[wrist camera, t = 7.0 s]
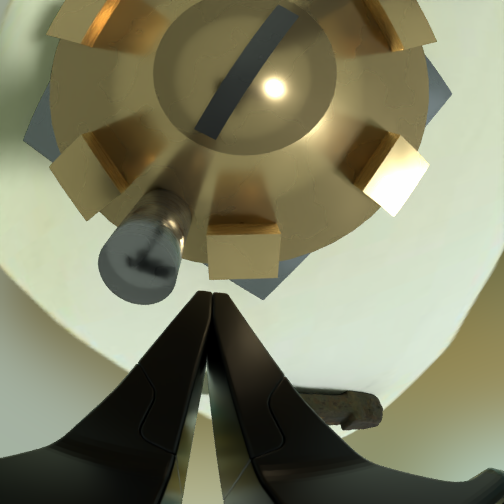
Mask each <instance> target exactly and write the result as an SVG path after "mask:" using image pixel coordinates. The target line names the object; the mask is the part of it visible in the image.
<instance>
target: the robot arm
mask: <svg viewBox="0 0 504 504" xmlns="http://www.w3.org/2000/svg"><path fill="white" fill-rule="evenodd" d="M206 363H207V376H208V387H209V397H210V406H211V416H212V424H213V432H214V440H215V448H216V456H217V463H218V469H219V476H220V483H221V488H222V495H223V500H224V504H504V471H502V470H497V469H494V468H488V469H486V470H484V471H483V472H481V473H480V474H478V475H476V476H475V477H473V478H471V479H470V480H468V481H464V482H450V481H442V480H437V479H432V478H426V477H422V476H418V475H414V474H410V473H405V472H402V471H398V470H394V469H391V468H387V467H384V466H380V465H377V464H375V463H373V462H370V461H369V460H367V459H365V458H363V457H362V456H361V455H359V454H358V453H357V452H355V451H354V450H353V449H352V448H351V447H350V446H349V445H348V444H347V443H346V442H344V440H343V439H341V438H340V437H339V436H338V435H337V434H336V433H335V432H334V431H333V430H332V429H331V428H330V427H329V426H328V425H327V424H326V423H325V422H324V421H323V420H322V419H321V418H320V417H319V416H318V415H317V414H316V413H315V412H314V410H313V409H312V408H311V407H310V406H309V405H308V404H307V403H306V402H305V401H304V399H303V398H302V397H301V396H300V394H299V393H298V392H297V391H296V389H295V388H294V387H293V386H292V384H291V383H290V381H289V380H288V379H287V377H284V373H283V372H282V371H281V369H280V368H279V367H278V365H277V364H276V362H275V361H274V360H273V358H272V357H271V356H270V354H269V353H268V351H267V350H266V349H265V347H264V346H263V344H262V343H261V341H260V340H259V339H258V337H257V336H256V334H255V333H254V332H253V330H252V329H251V327H250V326H249V324H248V323H247V321H246V320H245V319H244V317H243V316H242V314H241V313H240V311H239V310H238V308H237V307H236V305H235V304H234V303H233V301H232V300H231V298H230V297H229V295H228V294H226V293H217V292H214V293H213V295H212V293H211V292H208V291H197V292H196V293H195V295H194V296H193V297H192V298H191V299H190V301H189V302H188V303H187V304H186V305H185V306H184V308H183V309H182V310H181V311H180V312H179V314H178V315H177V316H176V317H175V318H174V320H173V321H172V322H171V323H170V324H169V326H168V327H167V328H166V329H165V330H164V332H163V333H162V334H161V335H160V336H159V338H158V339H157V340H156V341H155V342H154V344H153V345H152V346H151V347H150V348H149V350H148V351H147V352H146V353H145V354H144V356H143V357H142V358H141V359H140V360H139V362H138V364H136V365H135V366H134V368H133V369H132V370H131V371H130V372H129V374H128V375H127V376H126V377H125V378H124V379H123V380H122V382H121V383H120V384H119V385H118V386H117V387H116V388H115V389H114V391H112V393H110V394H109V395H108V396H107V397H106V398H105V399H104V400H103V401H102V402H101V403H100V404H99V405H98V406H97V407H96V408H94V409H93V410H92V411H91V412H90V413H89V414H88V415H87V416H86V417H85V418H84V419H82V420H81V421H80V422H79V423H78V424H77V425H76V426H75V427H74V428H73V429H72V430H70V432H68V433H67V434H66V435H65V436H63V437H62V438H61V439H59V440H58V441H56V442H54V443H52V444H50V445H48V446H46V447H43V448H40V449H36V450H32V451H29V452H24V453H20V454H17V455H12V456H8V457H3V458H0V504H182V498H183V493H184V487H185V481H186V475H187V468H188V462H189V458H190V452H191V446H192V440H193V435H194V429H195V423H196V418H197V413H198V408H199V402H200V397H201V392H202V386H203V381H204V376H205V370H206Z"/></svg>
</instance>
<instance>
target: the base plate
mask: <svg viewBox="0 0 504 504" xmlns="http://www.w3.org/2000/svg"><path fill="white" fill-rule="evenodd" d="M425 58H426V64H427V71H428V78H429V105H428V113H427V120H426V125H427V124H428V123H429V122H430V121H431V119H432V118H433V117H434V116H435V115H436V113H437V112H438V111H439V110H440V109H441V107H442V106H443V105H444V104H445V102H446V101H447V100H448V99H449V97H450V96H451V95H452V93H451V91H450V89H449V88H448V86H447V85H446V83H445V82H444V80H443V79H442V77H441V76H440V75H439V73H438V72H437V70H436V69H435V67H434V66H433V65H432V63H431V62H430V61H429V59H428V58H427V57H426V55H425ZM426 125H425V127H426ZM23 141H24V142H26V143H27V144H28V145H30V146H31V147H32V148H34V149H35V150H36V151H38V152H39V153H40V154H42V155H43V156H45V157H46V158H47V159H49V160H50V161H51V162H54V161H55V160H56V159H57V158H58V157H59V156H60V155H61V153H60V150H59V148H58V145H57V142H56V138H55V134H54V130H53V126H52V120H51V111H50V82H49V84H48V86H47V88H46V90H45V92H44V94H43V96H42V98H41V100H40V102H39V104H38V106H37V108H36V110H35V113H34V115H33V117H32V119H31V122H30V124H29V126H28V129H27V131H26V134H25V136H24V139H23ZM309 254H310V253H308V254H305V255H302V256H299V257H296V258H293V259H289V260H284V261H279V268H278V278H261V279H229V280H230V281H232V282H234V283H235V284H237V285H239V286H240V287H242V288H244V289H245V290H247V291H249V292H250V293H252V294H254V295H255V296H257V297H259V298H260V299H262V300H264V299H265V298H266V297H267V296H268V295H269V294H270V293H271V292H272V291H273V290H274V289H275V288H276V287H277V286H278V285H279V284H280V283H281V282H282V281H283V280H284V279H285V278H286V277H287V276H288V275H289V274H290V273H291V272H292V271H293V270H294V269H295V268H296V267H297V266H298V265H299V264H300V263H301V262H302V261H303V260H304V259H305V258H306V257H307V256H308V255H309ZM203 264H205V265H206V266H208V264H206V263H203Z"/></svg>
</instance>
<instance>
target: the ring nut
mask: <svg viewBox="0 0 504 504" xmlns="http://www.w3.org/2000/svg"><path fill="white" fill-rule="evenodd" d="M46 35H49V36H53V37H57V38H60V41H59V43H58V46H57V49H56V52H55V56H54V61H53V66H52V72H51V78H50V111H51V120H52V126H53V130H54V134H55V138H56V142H57V145H58V148H59V150H60V153H61V155H60V156H59V157H58V158H57V159H56V160H55V161H54V162H53V163H52V164H51V165H50V166H49V168H50V170H51V171H52V173H53V174H54V176H55V177H56V179H57V180H58V182H59V183H60V185H61V186H62V188H63V189H64V191H65V192H66V194H67V195H68V196H69V198H70V199H71V201H72V202H73V203H74V205H75V206H76V208H77V209H78V210H79V212H80V213H81V215H82V216H83V217H84V219H85V220H86V221H88V220H89V219H90V218H92V217H93V216H94V215H95V214H96V213H98V212H100V213H102V214H103V215H104V216H105V217H106V218H107V219H108V220H109V221H110V222H111V223H113V224H114V225H116V226H117V229H116V230H115V231H114V233H113V234H112V235H111V237H110V238H109V239H108V241H107V242H106V243H105V245H104V246H103V248H102V249H101V252H100V254H99V259H98V267H99V272H100V275H101V277H102V279H103V281H104V283H105V284H106V286H107V287H108V288H109V289H110V290H111V291H112V292H113V293H114V294H115V295H117V296H118V297H120V298H121V299H123V300H125V301H128V302H130V303H134V304H140V305H149V304H154V303H157V302H160V301H162V300H163V299H165V298H166V297H167V296H169V294H170V293H171V292H172V290H173V289H174V286H175V283H176V279H177V275H178V271H179V267H180V263H181V259H182V258H183V259H186V260H190V261H194V262H200V263H206V264H208V269H209V280H225V279H261V278H278V268H279V261H284V260H289V259H293V258H296V257H299V256H302V255H305V254H308V253H311V252H314V251H316V250H318V249H320V248H323V247H325V246H327V245H329V244H331V243H334V242H335V241H337V240H339V239H340V238H342V237H344V236H345V235H347V234H348V233H350V232H352V231H353V230H355V229H356V228H357V227H359V226H360V225H361V224H362V223H364V222H365V221H366V220H367V219H369V218H370V217H371V216H372V215H373V214H374V213H375V212H376V211H377V210H378V209H379V208H380V207H381V206H382V207H383V208H384V209H385V210H387V211H388V212H389V213H390V214H392V215H393V216H395V215H396V213H397V212H398V211H399V209H400V208H401V206H402V205H403V204H404V202H405V201H406V199H407V198H408V196H409V195H410V193H411V192H412V191H413V189H414V188H415V186H416V185H417V183H418V182H419V180H420V179H421V177H422V176H423V174H424V173H425V171H426V169H427V168H428V166H429V164H428V163H427V162H426V160H425V159H424V158H423V157H422V156H421V155H420V154H419V153H418V152H417V151H418V149H419V146H420V143H421V140H422V136H423V133H424V129H425V125H426V120H427V113H428V105H429V78H428V71H427V64H426V58H425V54H424V51H423V47H422V45H425V44H430V43H434V42H437V40H436V38H435V36H434V34H433V32H432V29H431V27H430V25H429V23H428V21H427V19H426V17H425V15H424V13H423V11H422V10H421V8H420V6H419V4H418V2H417V1H416V0H65V2H64V3H63V5H62V7H61V8H60V10H59V12H58V13H57V15H56V17H55V18H54V20H53V22H52V24H51V26H50V27H49V29H48V31H47V33H46Z"/></svg>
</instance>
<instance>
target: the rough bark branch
mask: <svg viewBox="0 0 504 504" xmlns="http://www.w3.org/2000/svg"><path fill="white" fill-rule="evenodd" d="M299 394H300V393H299ZM300 396H301V397H302V398H303V399H304V401H305V402H306V403H307V404H308V405H309V406H310V407H311V408H312V409H313V410H314V412H315V413H316V414H317V415H318V416H319V417H320V418H321V419H322V420H323V421H324V422H325V423H326V424H327V425H339V424H340V425H341V428H342V430H352V429H358V430H359V429H366V428H371V427H376V426H378V425H379V423H380V422H381V420H382V415H383V414H382V411H383V408H382V406H381V404H380V401H379V399H378V398H377V397H376V396H374V395H371V394H367V393H360V392H354V391H346V392H344V393H343V394H341V395H321V394H300Z"/></svg>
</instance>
